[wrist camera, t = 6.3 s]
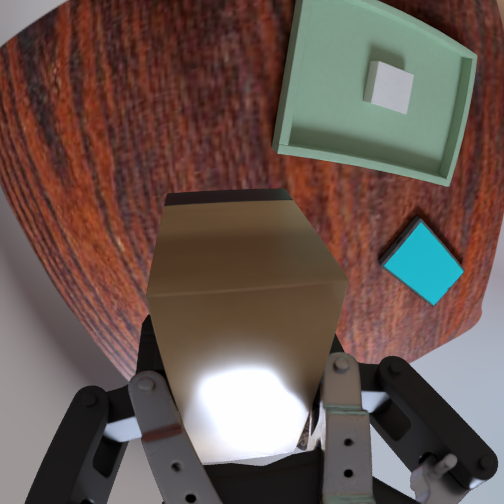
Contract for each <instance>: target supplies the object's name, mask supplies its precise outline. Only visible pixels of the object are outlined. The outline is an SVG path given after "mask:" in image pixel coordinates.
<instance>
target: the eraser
mask: <svg viewBox="0 0 504 504" xmlns="http://www.w3.org/2000/svg"><path fill="white" fill-rule="evenodd" d="M348 283H349V279H348V277H347V276H346V274H345V273H344V271H343V270H342V268H341V267H340V265H339V264H338V262H337V261H336V260H335V258H334V257H333V255H332V254H331V252H330V251H329V249H328V248H327V247H326V245H325V244H324V242H323V241H322V239H321V238H320V237H319V235H318V234H317V232H316V231H315V230H314V228H313V227H312V225H311V224H310V223H309V221H308V220H307V218H306V217H305V216H304V214H303V213H302V212H301V210H300V209H299V207H298V206H297V205H296V203H295V202H294V201H293V199H292V198H291V196H290V195H289V194H288V192H287V191H286V190H285V189H284V188H280V189H243V190H219V191H199V192H183V193H168V194H167V196H166V200H165V204H164V209H163V213H162V218H161V222H160V226H159V231H158V236H157V240H156V245H155V250H154V255H153V260H152V265H151V270H150V276H149V281H148V287H147V292H146V299H147V303H148V308H149V312H150V316H151V320H152V324H153V328H154V332H155V336H156V340H157V343H158V347H159V351H160V354H161V358H162V361H163V365H164V368H165V372H166V375H167V378H168V382H169V385H170V388H171V391H172V394H173V397H174V400H175V404H176V407H177V410H178V412H179V415H180V418H181V421H182V423H183V425H184V427H185V429H186V431H187V433H188V435H189V438H190V440H191V442H192V444H193V446H194V448H195V451H196V453H197V455H198V457H199V459H200V461H201V463H206V462H219V461H230V460H241V459H250V458H257V457H263V456H271V455H277V454H283V453H289V452H294V451H295V449H296V447H297V444H298V442H299V439H300V437H301V434H302V431H303V429H304V426H305V423H306V421H307V418H308V415H309V413H310V410H311V407H312V404H313V401H314V398H315V396H316V393H317V390H318V387H319V384H320V381H321V378H322V375H323V371H324V368H325V365H326V362H327V359H328V356H329V352H330V349H331V346H332V342H333V339H334V335H335V332H336V328H337V325H338V321H339V318H340V314H341V310H342V306H343V303H344V299H345V295H346V291H347V287H348Z"/></svg>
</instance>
